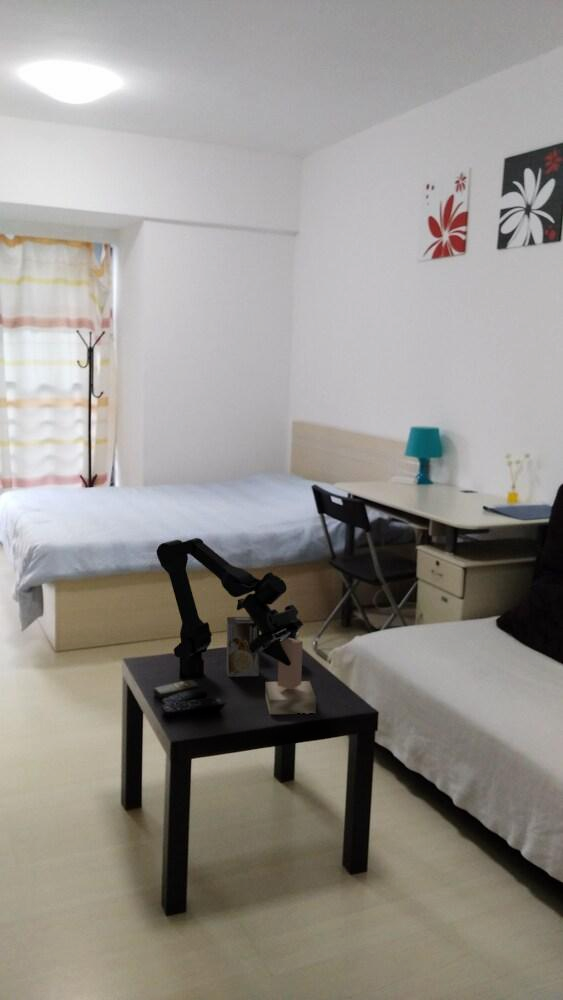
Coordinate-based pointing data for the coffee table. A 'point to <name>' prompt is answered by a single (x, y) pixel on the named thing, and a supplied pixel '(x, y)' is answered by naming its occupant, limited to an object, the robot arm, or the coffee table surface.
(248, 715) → the coffee table surface
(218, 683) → the coffee table surface
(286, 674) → the tower block
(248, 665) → the coffee box
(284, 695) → the base brick
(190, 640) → the robot arm
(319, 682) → the coffee table surface
